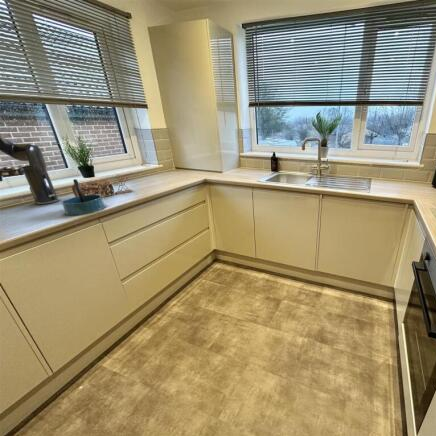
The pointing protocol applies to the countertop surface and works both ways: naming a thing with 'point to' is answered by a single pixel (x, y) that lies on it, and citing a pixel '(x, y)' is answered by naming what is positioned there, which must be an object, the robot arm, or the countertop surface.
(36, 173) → the robot arm
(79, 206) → the bowl
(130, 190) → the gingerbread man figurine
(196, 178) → the countertop surface
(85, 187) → the bread
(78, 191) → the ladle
